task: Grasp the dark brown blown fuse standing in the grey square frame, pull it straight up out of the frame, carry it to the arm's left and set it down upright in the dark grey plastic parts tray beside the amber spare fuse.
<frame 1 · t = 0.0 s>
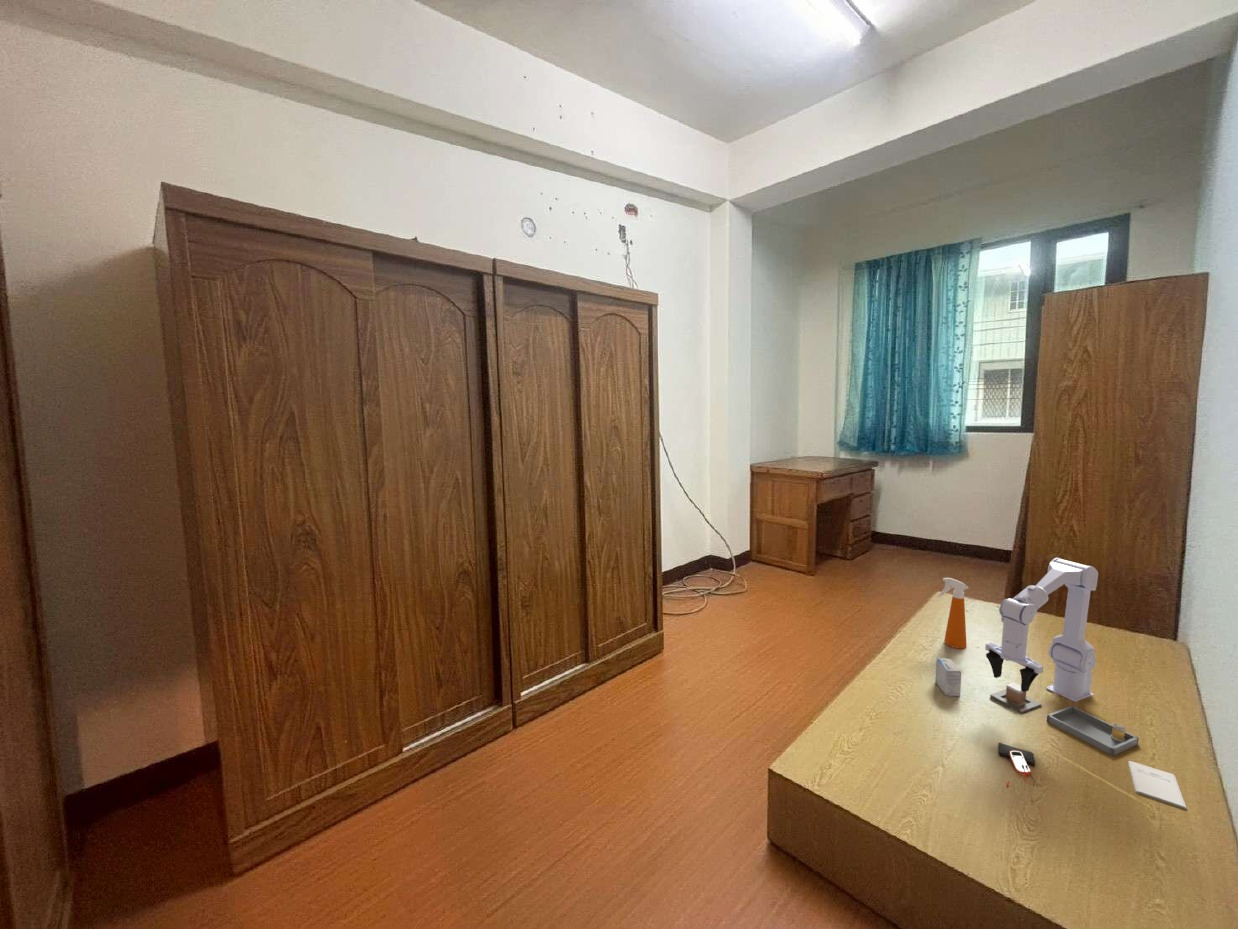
hand: (1010, 683, 148), 10 cm above the table, fingers open, 7 cm apart
external hard drive: (1155, 788, 122), on the table
spray bottle: (949, 644, 191), on the table
grey square frame: (1015, 702, 155), on the table
spare fuse: (1117, 739, 137), resting on parts tray
medicine box: (947, 689, 163), on the table
multimeter: (1025, 776, 127), on the table
fuse: (1015, 703, 155), resting in grey square frame
parts tray: (1090, 733, 140), on the table
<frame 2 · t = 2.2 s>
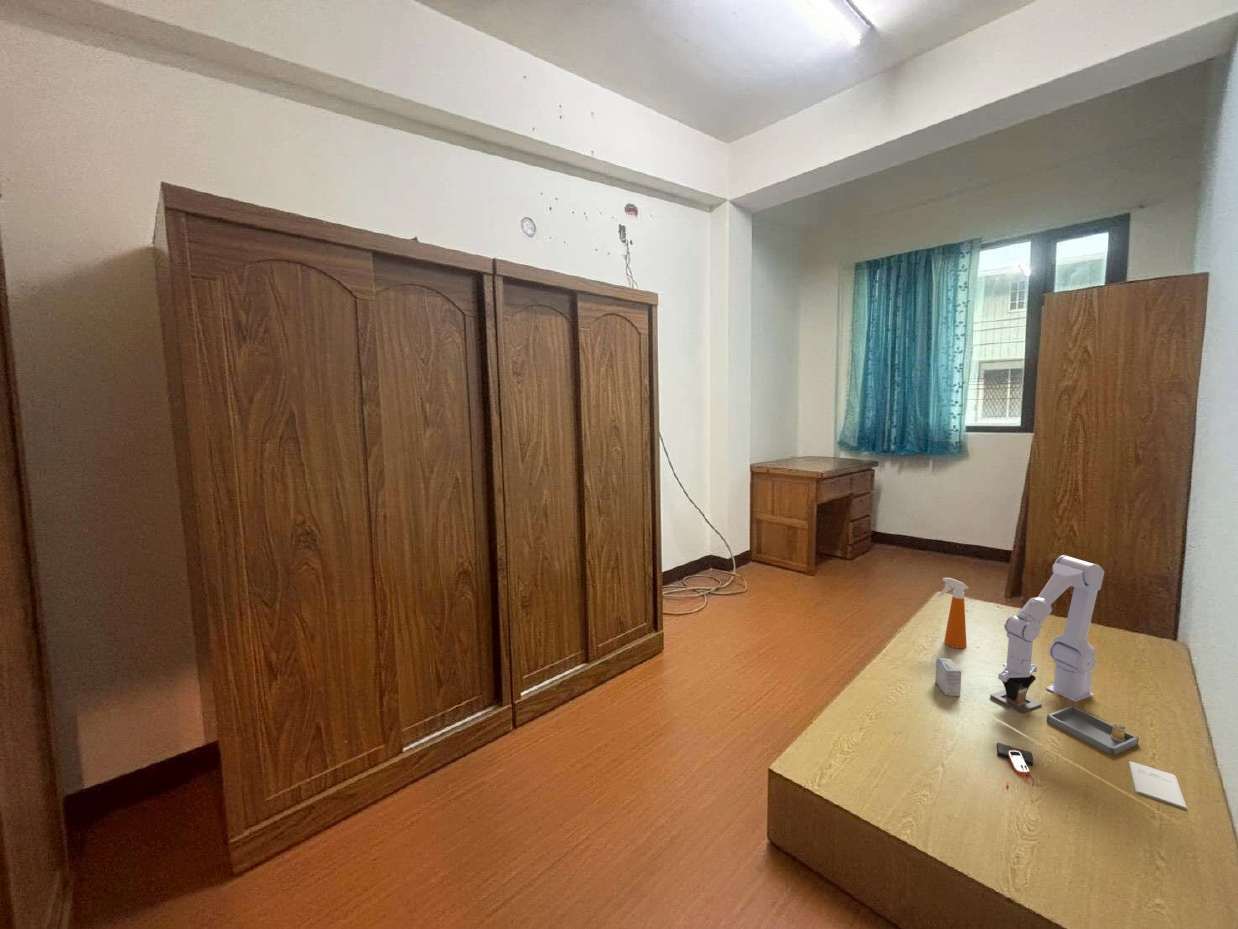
hand: (1015, 697, 154), 2 cm above the table, fingers closed on fuse, 4 cm apart
fuse: (1015, 702, 155), resting in grey square frame, touching gripper
everything else where it was.
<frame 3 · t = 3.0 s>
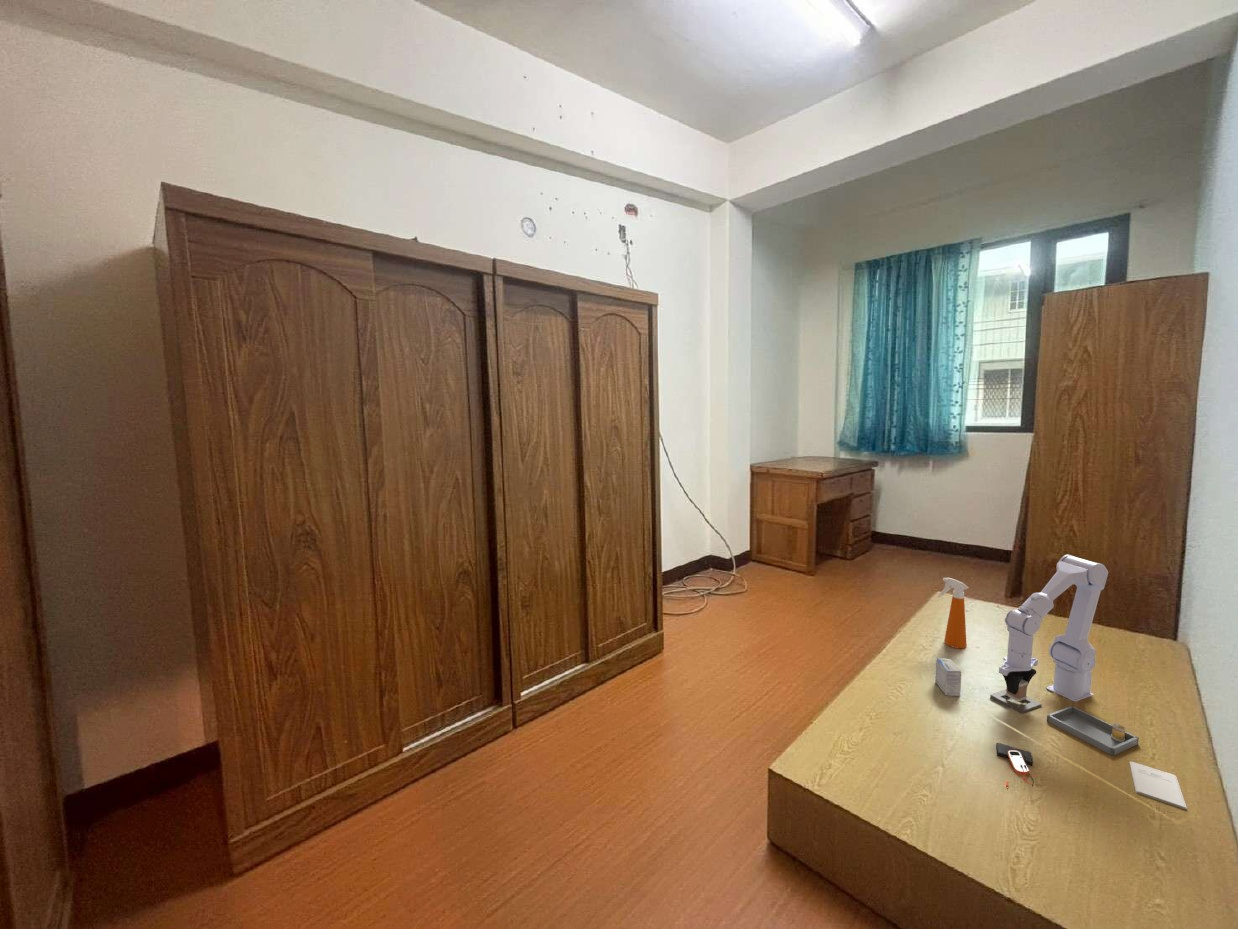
hand: (1016, 691, 154), 4 cm above the table, fingers closed on fuse, 4 cm apart
fuse: (1015, 696, 154), point 2 cm above the table, touching gripper
everything else where it was.
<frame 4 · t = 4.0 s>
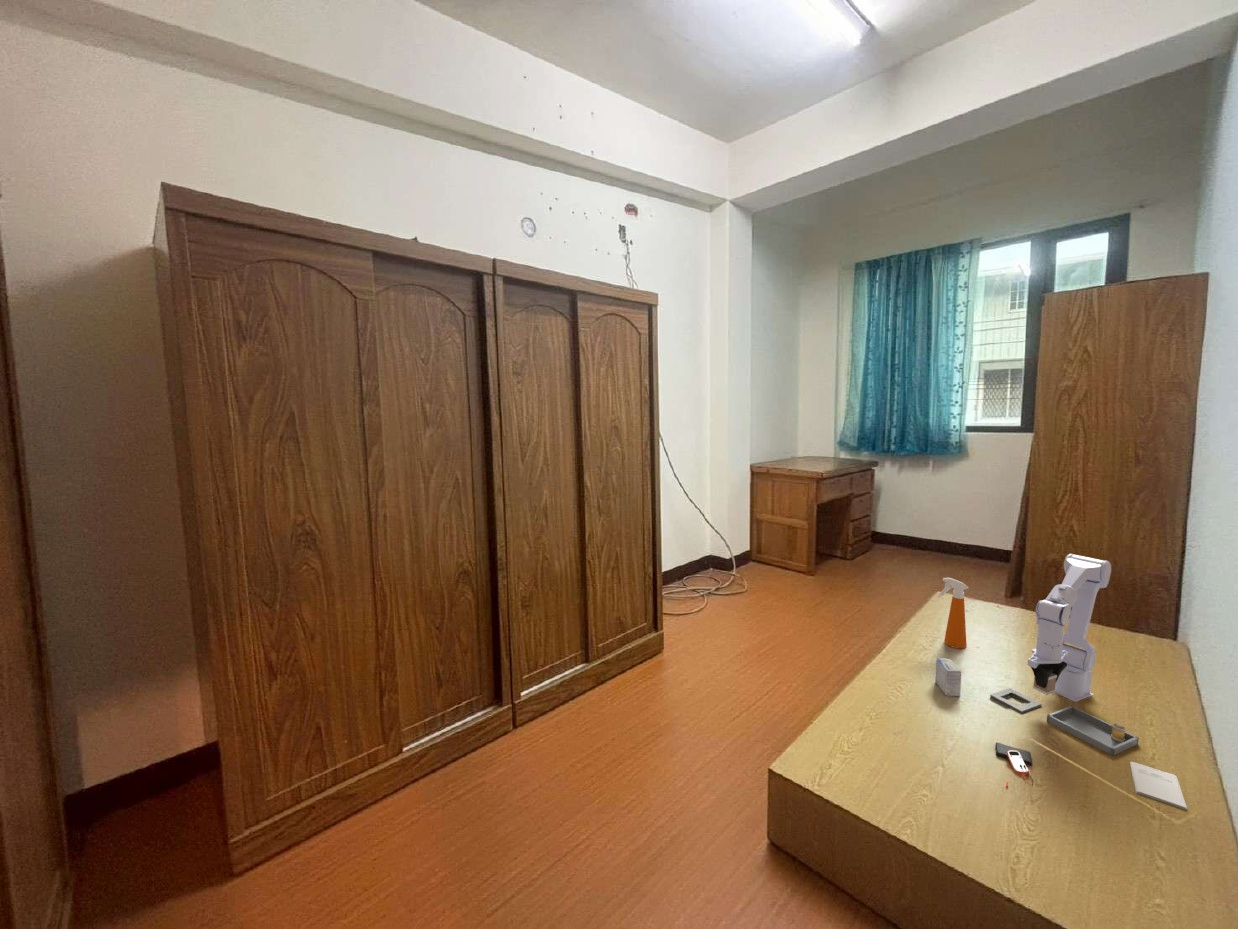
hand: (1045, 684, 148), 9 cm above the table, fingers closed on fuse, 4 cm apart
fuse: (1043, 690, 148), point 7 cm above the table, touching gripper
everything else where it was.
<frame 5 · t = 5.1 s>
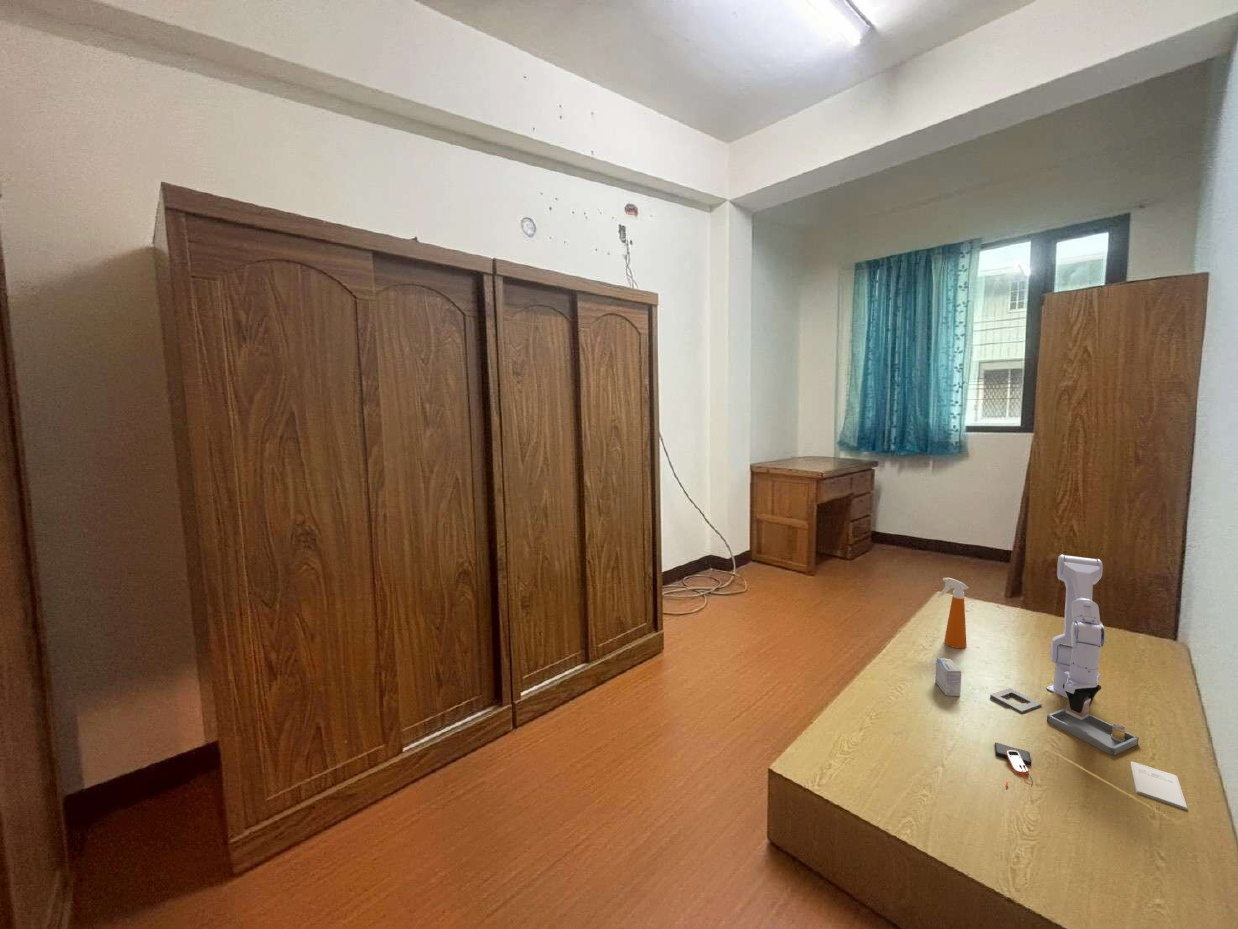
hand: (1079, 708, 142), 6 cm above the table, fingers closed on fuse, 4 cm apart
fuse: (1076, 714, 143), point 4 cm above the table, touching gripper
everything else where it was.
when the fingers open (3 cm above the table, at t = 5.9 s): fuse stays where it is, resting on parts tray.
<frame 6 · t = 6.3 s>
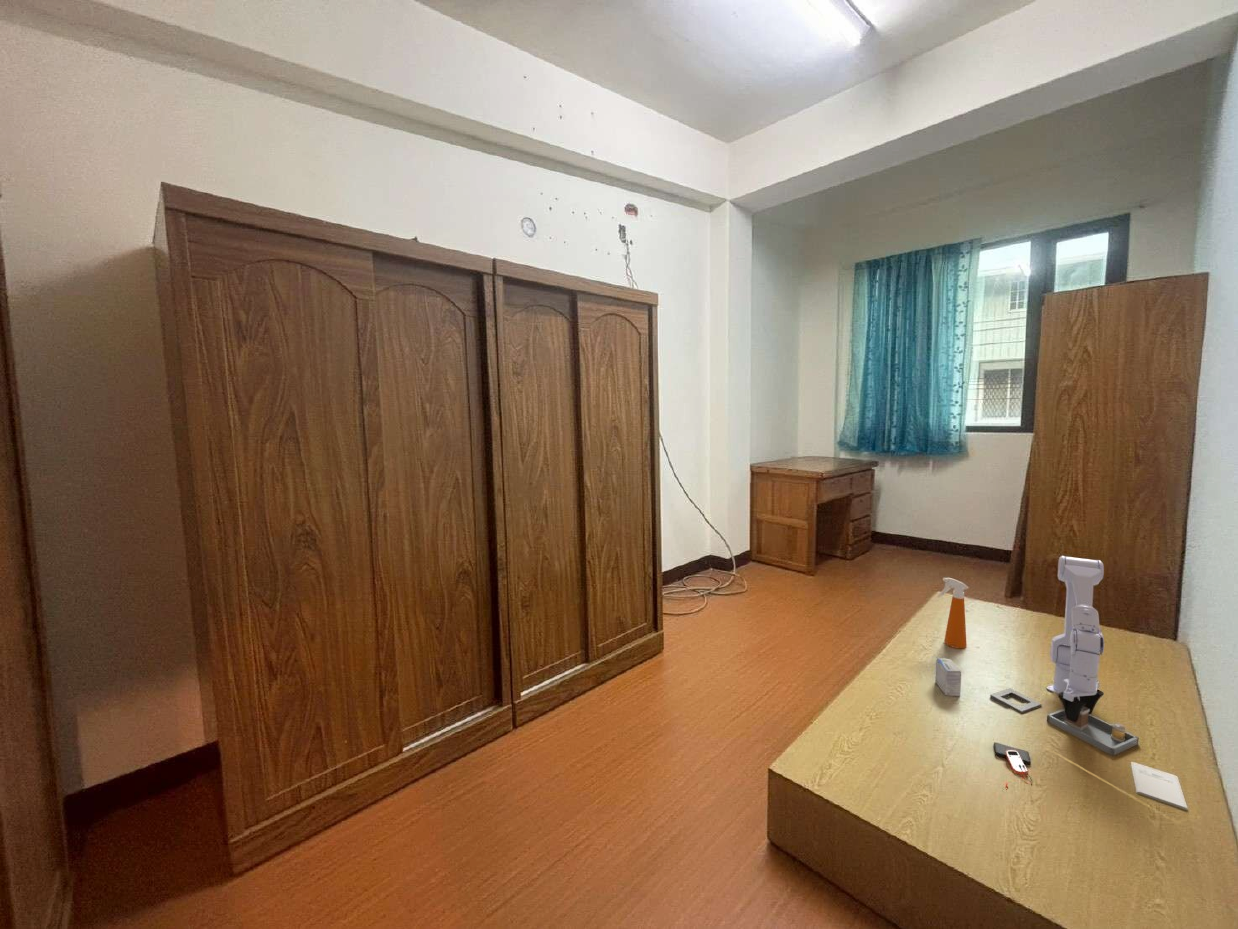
hand: (1078, 716, 142), 3 cm above the table, fingers open, 7 cm apart
fuse: (1076, 724, 143), resting on parts tray
everything else where it was.
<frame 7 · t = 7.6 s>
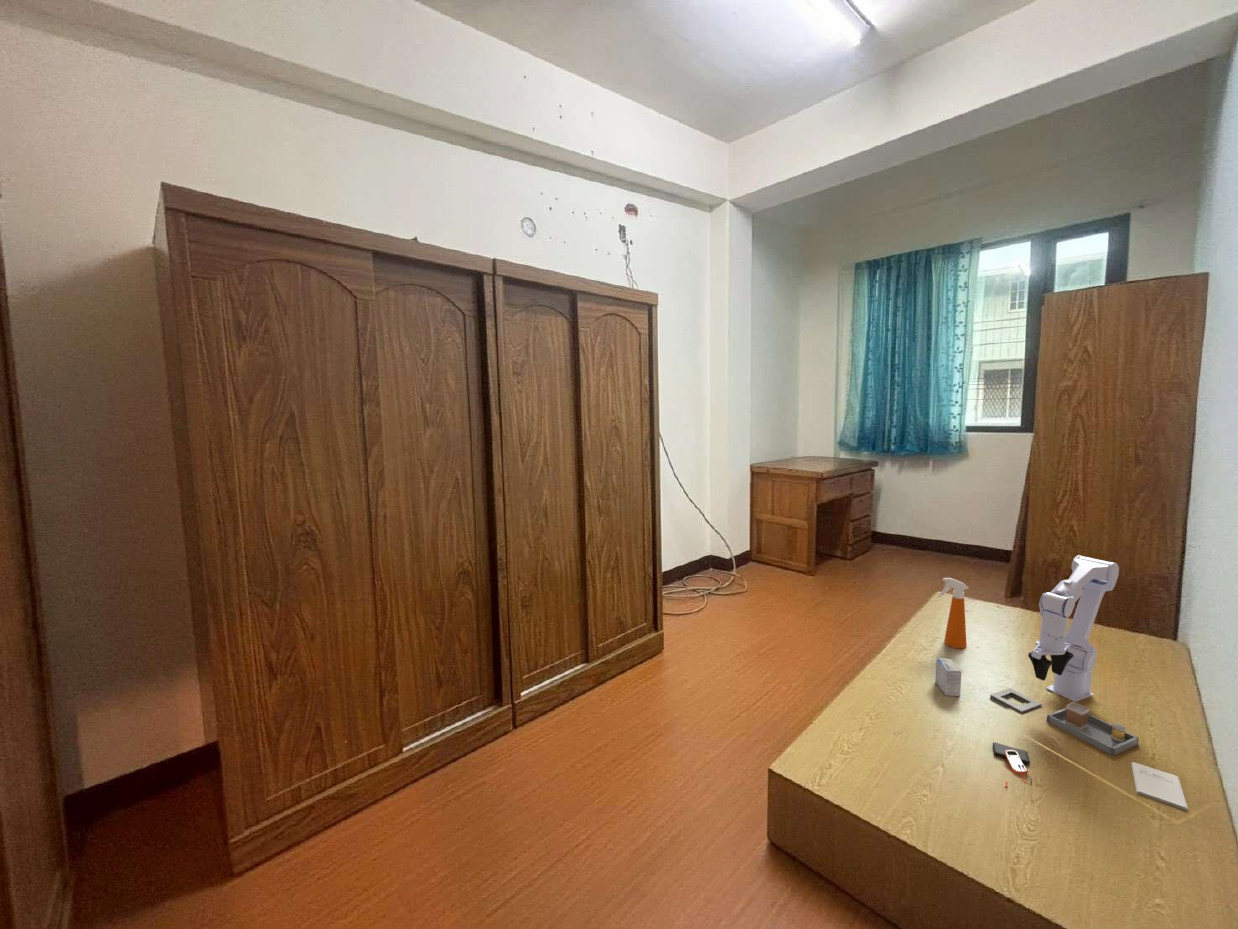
hand: (1048, 676, 150), 10 cm above the table, fingers open, 7 cm apart
nothing on the table moved.
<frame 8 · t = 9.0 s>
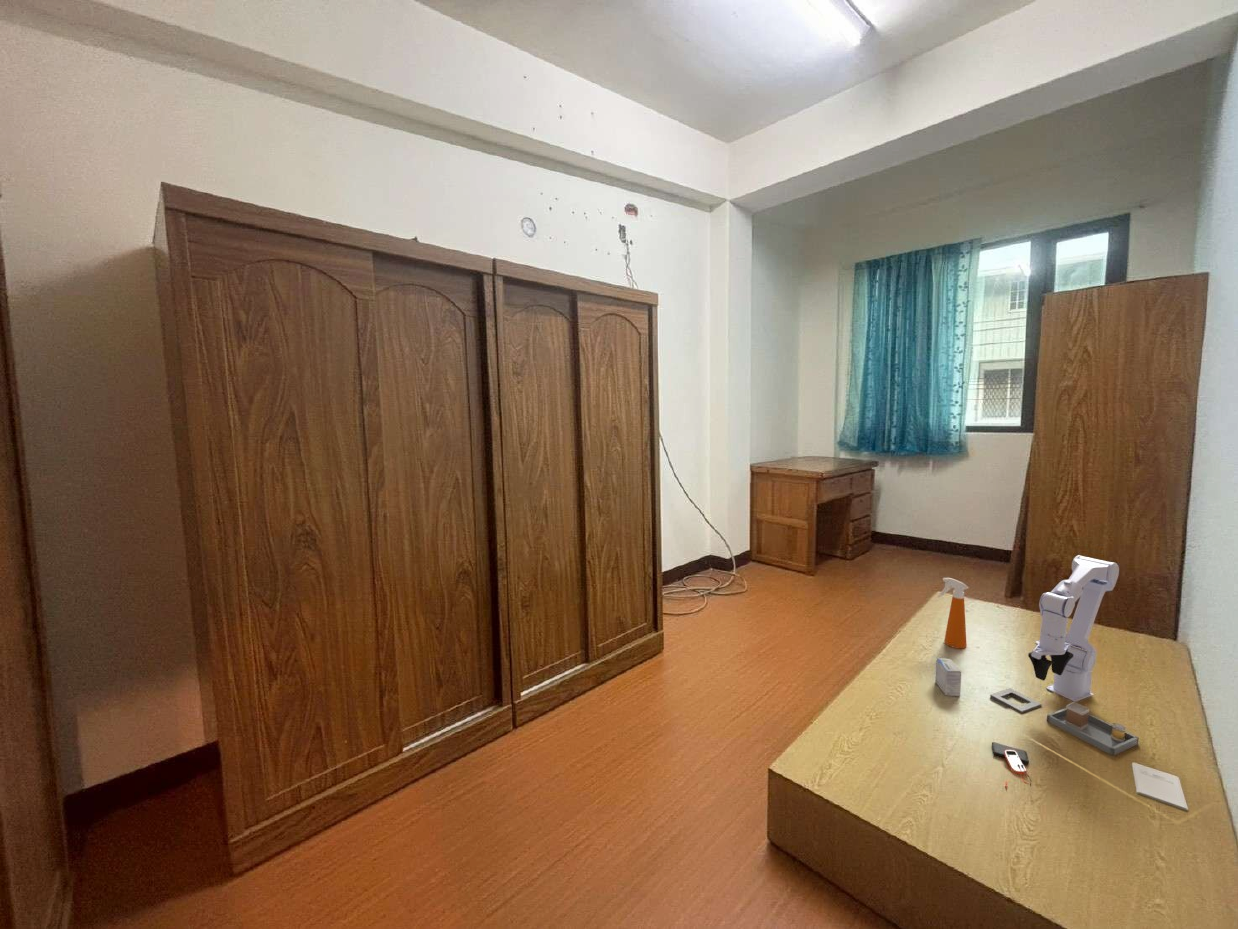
hand: (1048, 676, 150), 10 cm above the table, fingers open, 7 cm apart
nothing on the table moved.
at the end: fuse inside the target area on the parts tray (3.4 cm from its centre), point 0.5 cm above the parts tray's base; fuse tilted 0°; the gripper is holding nothing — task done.
